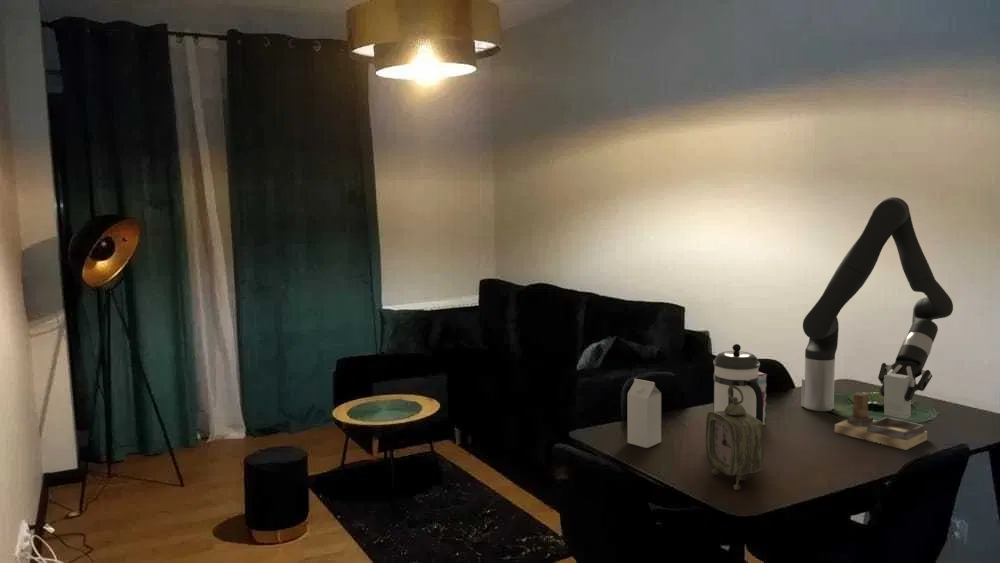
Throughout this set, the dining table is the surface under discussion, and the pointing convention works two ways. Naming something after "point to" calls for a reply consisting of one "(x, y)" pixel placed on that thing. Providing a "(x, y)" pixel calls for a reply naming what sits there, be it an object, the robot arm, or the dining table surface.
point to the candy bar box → (763, 392)
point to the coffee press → (738, 381)
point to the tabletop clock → (735, 441)
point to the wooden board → (880, 427)
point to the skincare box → (896, 395)
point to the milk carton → (644, 414)
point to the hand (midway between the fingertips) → (894, 397)
